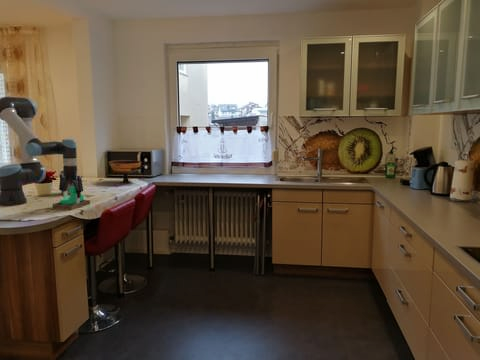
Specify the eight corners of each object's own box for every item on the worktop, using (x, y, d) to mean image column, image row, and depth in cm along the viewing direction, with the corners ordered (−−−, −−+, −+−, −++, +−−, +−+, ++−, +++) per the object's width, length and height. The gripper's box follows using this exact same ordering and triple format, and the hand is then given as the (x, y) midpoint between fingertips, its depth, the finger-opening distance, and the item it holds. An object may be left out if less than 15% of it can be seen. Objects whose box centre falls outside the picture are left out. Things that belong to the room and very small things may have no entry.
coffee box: (78, 192, 265) (77, 170, 262) (73, 194, 259) (72, 171, 256) (66, 192, 266) (65, 169, 264) (61, 193, 260) (59, 171, 257)
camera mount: (73, 200, 232) (72, 184, 230) (83, 201, 230) (82, 185, 228) (59, 204, 221) (58, 187, 219) (70, 205, 219) (69, 188, 217)
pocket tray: (52, 208, 219) (52, 204, 219) (72, 202, 235) (71, 198, 235) (71, 210, 216) (71, 206, 216) (90, 203, 232) (89, 200, 232)
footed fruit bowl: (97, 182, 307) (97, 161, 304) (118, 178, 330) (118, 159, 327) (133, 187, 293) (133, 164, 290) (152, 182, 316) (152, 161, 314)
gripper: (50, 164, 220) (52, 202, 224) (81, 166, 216) (82, 205, 219) (59, 163, 228) (61, 200, 231) (89, 165, 223) (90, 202, 227)
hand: (71, 202), depth 225 cm, fingers closed on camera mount, 8 cm apart
